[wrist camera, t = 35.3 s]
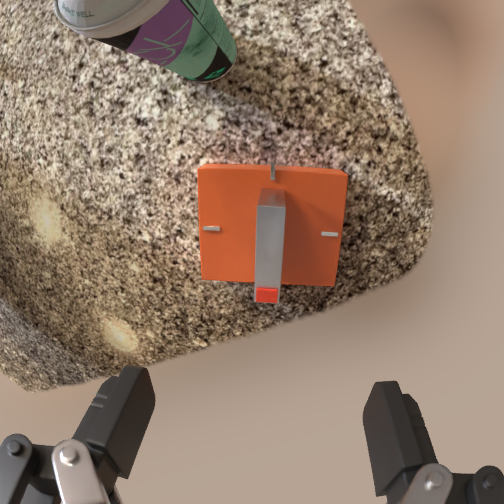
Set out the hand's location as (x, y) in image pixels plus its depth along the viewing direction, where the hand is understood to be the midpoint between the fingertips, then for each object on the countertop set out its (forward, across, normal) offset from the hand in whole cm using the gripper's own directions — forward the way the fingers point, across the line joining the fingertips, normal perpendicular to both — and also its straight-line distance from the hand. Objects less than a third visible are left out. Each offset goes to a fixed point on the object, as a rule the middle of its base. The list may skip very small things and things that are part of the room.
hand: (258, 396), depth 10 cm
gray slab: (+17, 0, 0) cm, 17 cm away
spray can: (+20, +6, -15) cm, 26 cm away
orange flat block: (+20, 0, 0) cm, 20 cm away
